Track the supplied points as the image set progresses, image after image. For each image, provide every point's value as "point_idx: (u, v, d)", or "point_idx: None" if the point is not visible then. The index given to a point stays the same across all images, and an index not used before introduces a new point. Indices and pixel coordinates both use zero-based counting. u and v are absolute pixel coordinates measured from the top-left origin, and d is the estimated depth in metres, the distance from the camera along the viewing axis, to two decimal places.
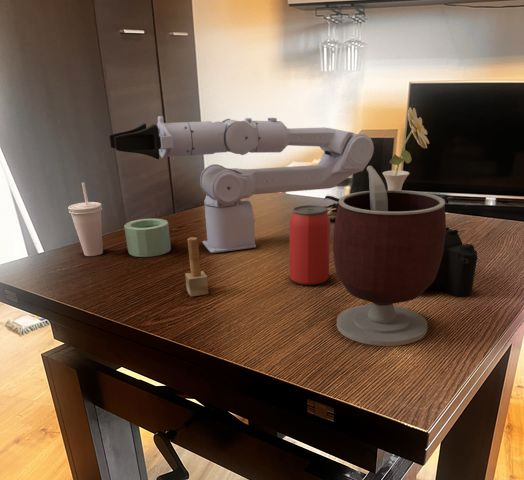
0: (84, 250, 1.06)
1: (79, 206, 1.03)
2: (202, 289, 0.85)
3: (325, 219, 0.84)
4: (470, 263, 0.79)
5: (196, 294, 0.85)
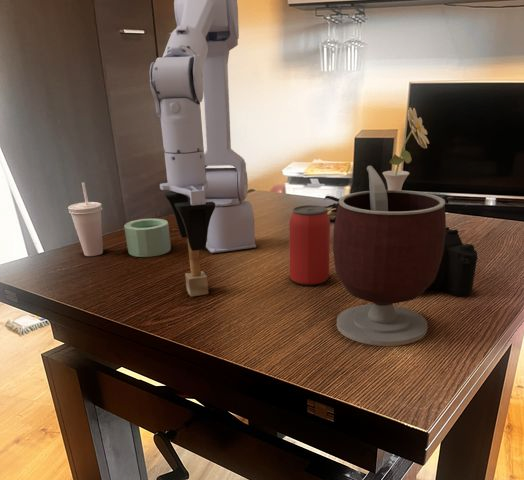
0: (84, 250, 1.06)
1: (79, 206, 1.03)
2: (202, 289, 0.85)
3: (325, 219, 0.84)
4: (470, 263, 0.79)
5: (196, 294, 0.85)
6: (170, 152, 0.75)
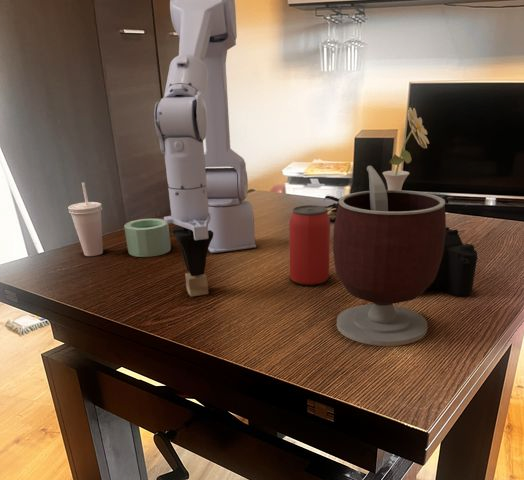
0: (84, 250, 1.06)
1: (79, 206, 1.03)
2: (202, 289, 0.85)
3: (325, 219, 0.84)
4: (470, 263, 0.79)
5: (196, 294, 0.85)
6: (174, 188, 0.77)
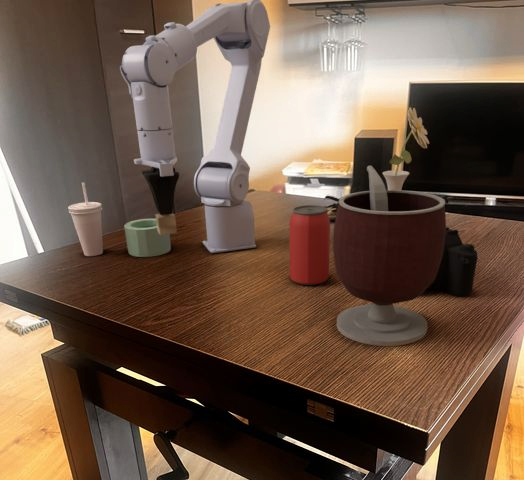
0: (84, 250, 1.06)
1: (79, 206, 1.03)
2: (171, 228, 0.93)
3: (325, 219, 0.84)
4: (470, 263, 0.79)
5: (165, 233, 0.93)
6: (142, 130, 0.85)
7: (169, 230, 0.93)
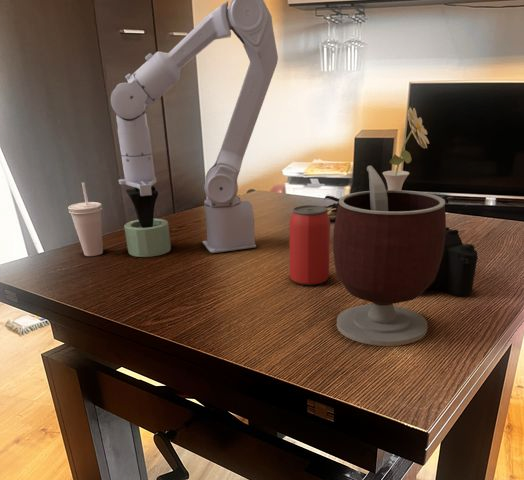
0: (84, 250, 1.06)
1: (79, 206, 1.03)
2: None
3: (325, 219, 0.84)
4: (470, 263, 0.79)
5: None
6: (125, 155, 0.98)
7: None
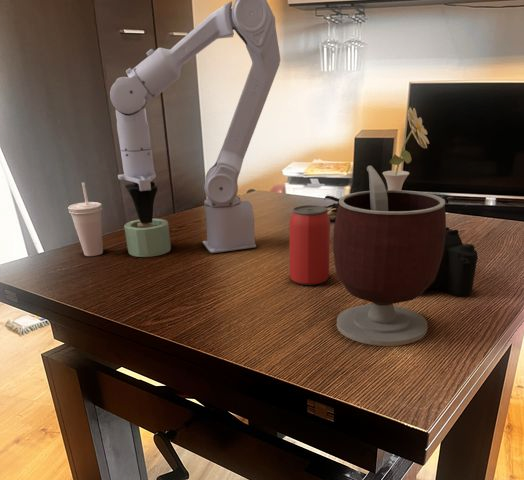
0: (84, 250, 1.06)
1: (79, 206, 1.03)
2: None
3: (325, 219, 0.84)
4: (470, 263, 0.79)
5: None
6: (124, 150, 0.97)
7: None
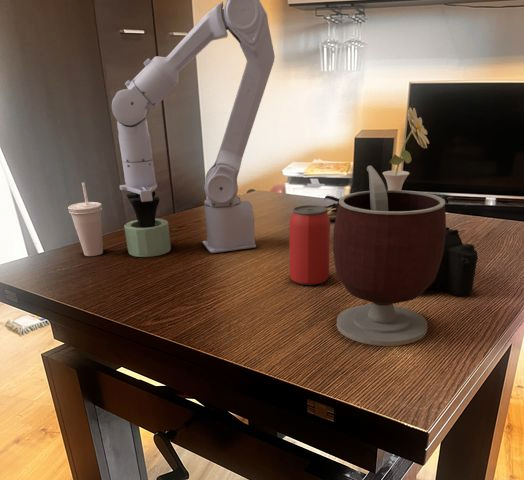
0: (84, 250, 1.06)
1: (79, 206, 1.03)
2: None
3: (325, 219, 0.84)
4: (470, 263, 0.79)
5: None
6: (126, 161, 0.98)
7: None
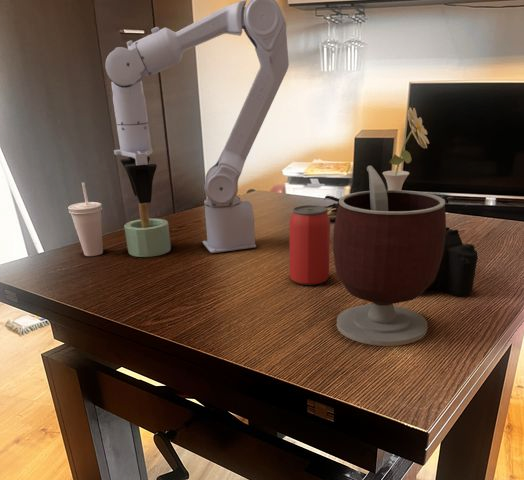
0: (84, 250, 1.06)
1: (79, 206, 1.03)
2: None
3: (325, 219, 0.84)
4: (470, 263, 0.79)
5: None
6: (120, 124, 0.95)
7: None
